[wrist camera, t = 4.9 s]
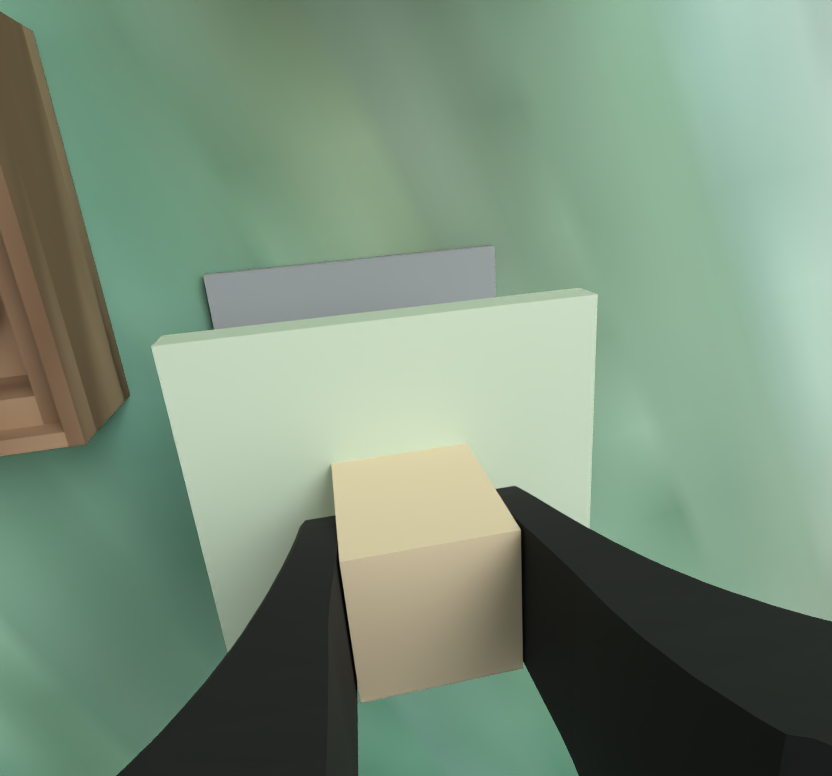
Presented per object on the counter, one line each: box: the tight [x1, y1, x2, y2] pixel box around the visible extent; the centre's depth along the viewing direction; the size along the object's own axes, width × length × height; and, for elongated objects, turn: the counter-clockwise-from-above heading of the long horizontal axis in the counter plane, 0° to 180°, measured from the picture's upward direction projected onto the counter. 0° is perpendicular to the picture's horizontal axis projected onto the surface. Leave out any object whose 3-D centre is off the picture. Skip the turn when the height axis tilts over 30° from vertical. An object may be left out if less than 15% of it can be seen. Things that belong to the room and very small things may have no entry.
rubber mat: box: [203, 245, 496, 330], centre depth 19 cm, size 9×9×1 cm
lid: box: [151, 288, 597, 703], centre depth 11 cm, size 8×8×4 cm
